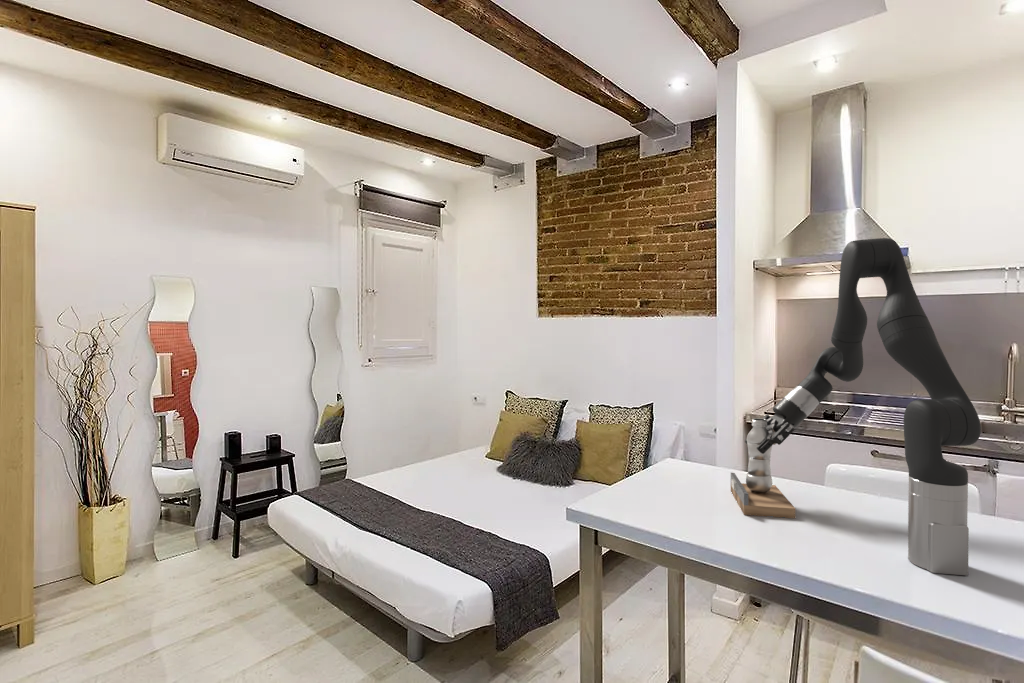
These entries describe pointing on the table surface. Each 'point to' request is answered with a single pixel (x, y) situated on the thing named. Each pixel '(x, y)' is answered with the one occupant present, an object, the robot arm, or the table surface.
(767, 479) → the silver bottle
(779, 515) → the shelf board
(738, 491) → the rail
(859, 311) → the robot arm
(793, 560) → the table surface
